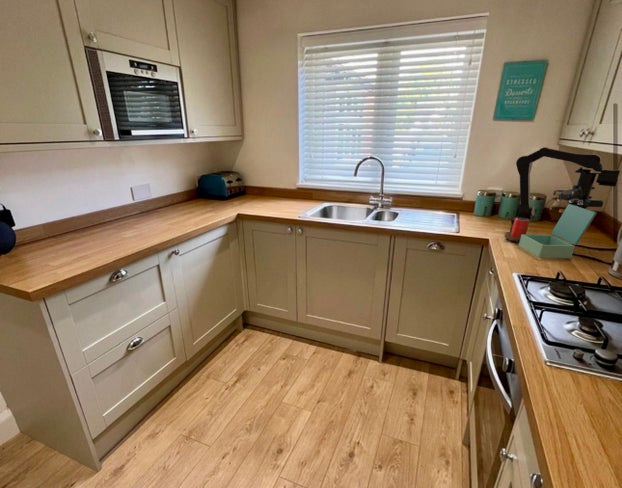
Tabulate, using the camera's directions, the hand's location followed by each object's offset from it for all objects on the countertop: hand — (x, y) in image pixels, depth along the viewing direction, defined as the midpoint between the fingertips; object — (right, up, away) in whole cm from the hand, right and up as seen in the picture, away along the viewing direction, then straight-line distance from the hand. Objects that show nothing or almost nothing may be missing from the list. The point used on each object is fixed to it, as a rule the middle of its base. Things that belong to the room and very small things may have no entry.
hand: (574, 218), depth 152 cm
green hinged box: (-19, -16, -6) cm, 26 cm away
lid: (-10, -4, -11) cm, 16 cm away
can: (-23, -8, +5) cm, 24 cm away
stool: (-24, -11, +7) cm, 27 cm away
